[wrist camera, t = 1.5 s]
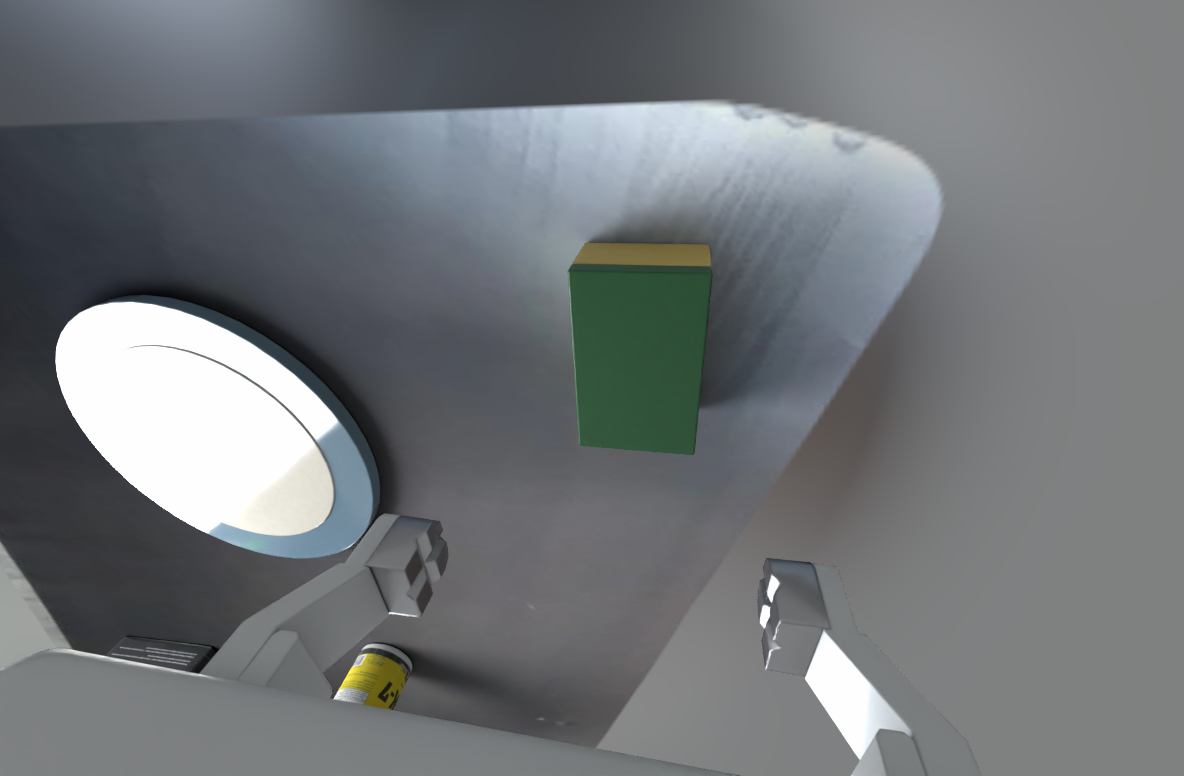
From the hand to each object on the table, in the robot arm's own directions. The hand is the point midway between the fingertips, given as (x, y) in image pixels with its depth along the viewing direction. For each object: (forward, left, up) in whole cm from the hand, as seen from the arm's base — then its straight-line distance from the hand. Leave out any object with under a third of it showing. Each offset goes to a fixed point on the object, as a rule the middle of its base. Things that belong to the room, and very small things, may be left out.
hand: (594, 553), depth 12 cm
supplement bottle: (+33, -22, -12) cm, 41 cm away
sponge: (0, 0, -12) cm, 12 cm away
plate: (+9, -26, -12) cm, 30 cm away
